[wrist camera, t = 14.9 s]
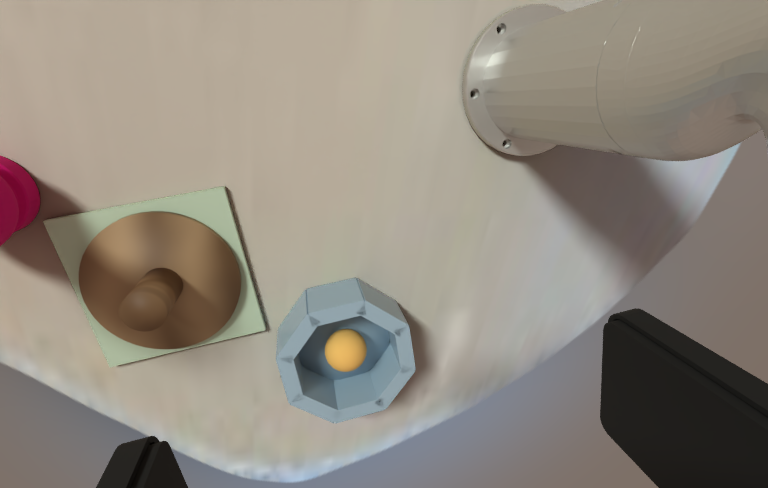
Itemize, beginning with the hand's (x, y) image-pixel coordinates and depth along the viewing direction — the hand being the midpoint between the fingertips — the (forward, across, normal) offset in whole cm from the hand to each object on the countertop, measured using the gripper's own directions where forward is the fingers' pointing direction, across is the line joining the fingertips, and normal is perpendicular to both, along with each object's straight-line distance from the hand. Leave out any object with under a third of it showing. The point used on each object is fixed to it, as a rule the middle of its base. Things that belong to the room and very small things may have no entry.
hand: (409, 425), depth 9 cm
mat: (+30, +15, +6) cm, 34 cm away
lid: (+30, +15, +6) cm, 34 cm away
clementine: (+30, +1, +16) cm, 34 cm away
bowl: (+30, +1, +16) cm, 34 cm away
